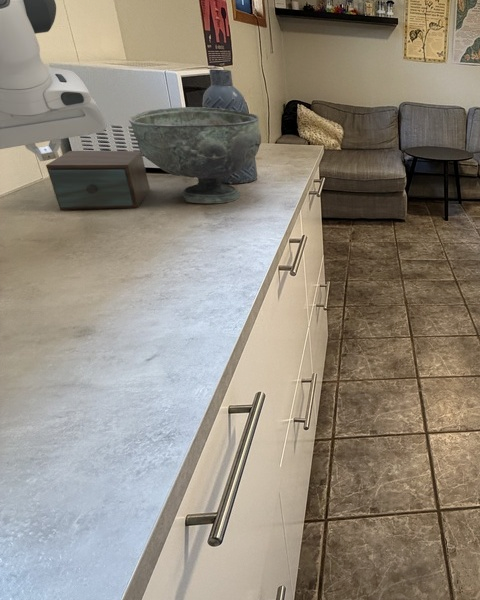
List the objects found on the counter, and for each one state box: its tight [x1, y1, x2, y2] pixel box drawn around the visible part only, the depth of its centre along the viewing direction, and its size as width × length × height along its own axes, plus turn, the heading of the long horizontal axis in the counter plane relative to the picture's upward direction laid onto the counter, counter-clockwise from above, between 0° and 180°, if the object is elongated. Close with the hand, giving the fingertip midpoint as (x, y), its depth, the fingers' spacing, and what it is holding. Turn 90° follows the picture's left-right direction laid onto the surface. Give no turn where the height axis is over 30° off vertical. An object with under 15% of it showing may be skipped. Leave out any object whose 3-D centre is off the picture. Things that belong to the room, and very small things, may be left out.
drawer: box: [48, 168, 134, 207], centre depth 107 cm, size 16×13×8 cm
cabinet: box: [45, 150, 151, 211], centre depth 109 cm, size 16×15×10 cm
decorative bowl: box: [127, 106, 262, 204], centre depth 113 cm, size 26×26×20 cm
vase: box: [202, 68, 258, 185], centre depth 128 cm, size 12×12×28 cm
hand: (48, 157), depth 86 cm, fingers closed
